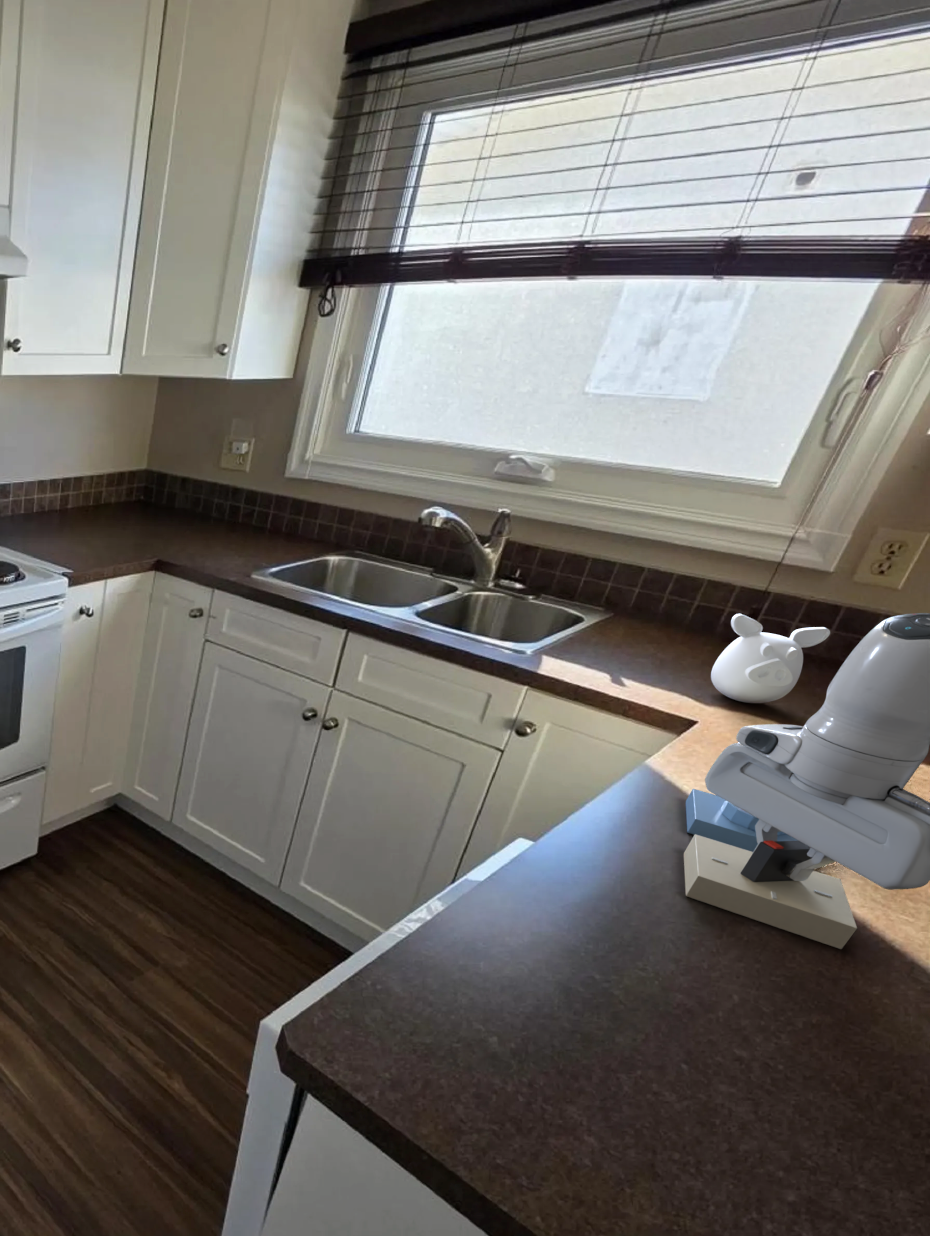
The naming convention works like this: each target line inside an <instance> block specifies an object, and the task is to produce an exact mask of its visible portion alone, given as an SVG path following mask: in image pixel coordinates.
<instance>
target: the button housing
mask: <svg viewBox="0 0 930 1236" xmlns="http://www.w3.org/2000/svg"><path fill="white" fill-rule="evenodd" d="M685 815H686V832H687V834H690V835H693V836H694V835H695V834H696V835H699V836H703V837H706V838H709V839H712V840H716V841H719V842H722V843H725V844H728V845H732V846H735V847H738V848H741V849H745V850H748V851H751V852H753V851H754V850H755V848H756V846H757V845H758V843H757V837H756V829H755V825H756V824H757V822H758V821H759V818H757V817H755V816H753V815H751V814H750V813H748V812H746V811H744V810H742V809H741V808H739V807H737V806H735V805H733V804H732V803H730V802H728V801H726V800H724V799H723V798H721V797H719V796H717V795H715V794H713V793H711V792H706V791H703V790H700V789H696V788H692V789H691V792H690V793H689V795H688V797H687V798H686V800H685ZM777 841H798V840H796V839H795V838H793V837H791V836H789V835H787V834H786V833H784V832H782V831H781V832H777Z"/></svg>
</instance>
